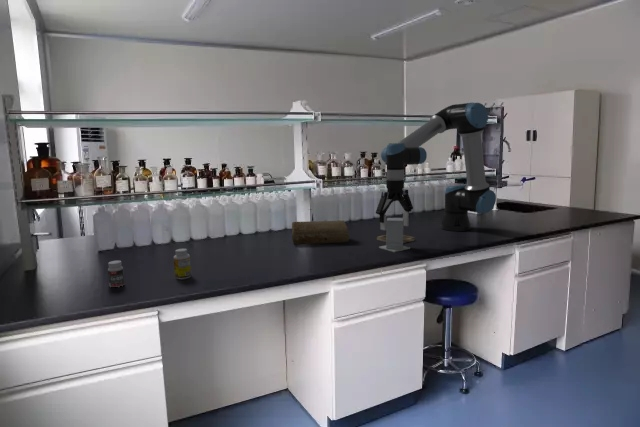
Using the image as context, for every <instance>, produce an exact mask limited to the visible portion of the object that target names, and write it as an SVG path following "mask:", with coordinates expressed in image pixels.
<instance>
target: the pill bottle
mask: <svg viewBox="0 0 640 427" xmlns="http://www.w3.org/2000/svg"><path fill="white" fill-rule="evenodd" d="M107 264H108V269H107V276H108V285H109V286H108V287H109V288H111V287H118V288H121V287H120V286H122V287H123V285H124V286H125V275H124V266H122V261H121V260H120V259H119V260H112V261H109V262H108V263H107Z"/></svg>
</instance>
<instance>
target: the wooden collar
mask: <svg viewBox="0 0 640 427" xmlns="http://www.w3.org/2000/svg"><path fill="white" fill-rule="evenodd" d="M376 240H377V241H380V242H385V243H386V234H384V235H383V234H382V235H380V236H376ZM414 241H416V237H415V236H411V235H405V234H403V244H404V243H409V242H414Z"/></svg>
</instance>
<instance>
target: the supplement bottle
mask: <svg viewBox="0 0 640 427" xmlns="http://www.w3.org/2000/svg"><path fill="white" fill-rule="evenodd" d="M174 251H175V255H173V266H174V278H175V279H177V280H186V279H190V278H191V277H192V266H191V256H190V254H189V253H188V248H178V249H176V250H174Z"/></svg>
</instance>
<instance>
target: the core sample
mask: <svg viewBox="0 0 640 427" xmlns="http://www.w3.org/2000/svg"><path fill="white" fill-rule="evenodd" d="M291 238H292V243H293V245H294V246H295V245H296V246H297V245H317V244H334V243H335V244H337V243H348V242H349V240H350V234H349V228H348V226H347V224H346V222H345V220H326V221H325V220H323V221H321V220H320V221H317V220H316V221H293V222H292V223H291Z"/></svg>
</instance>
